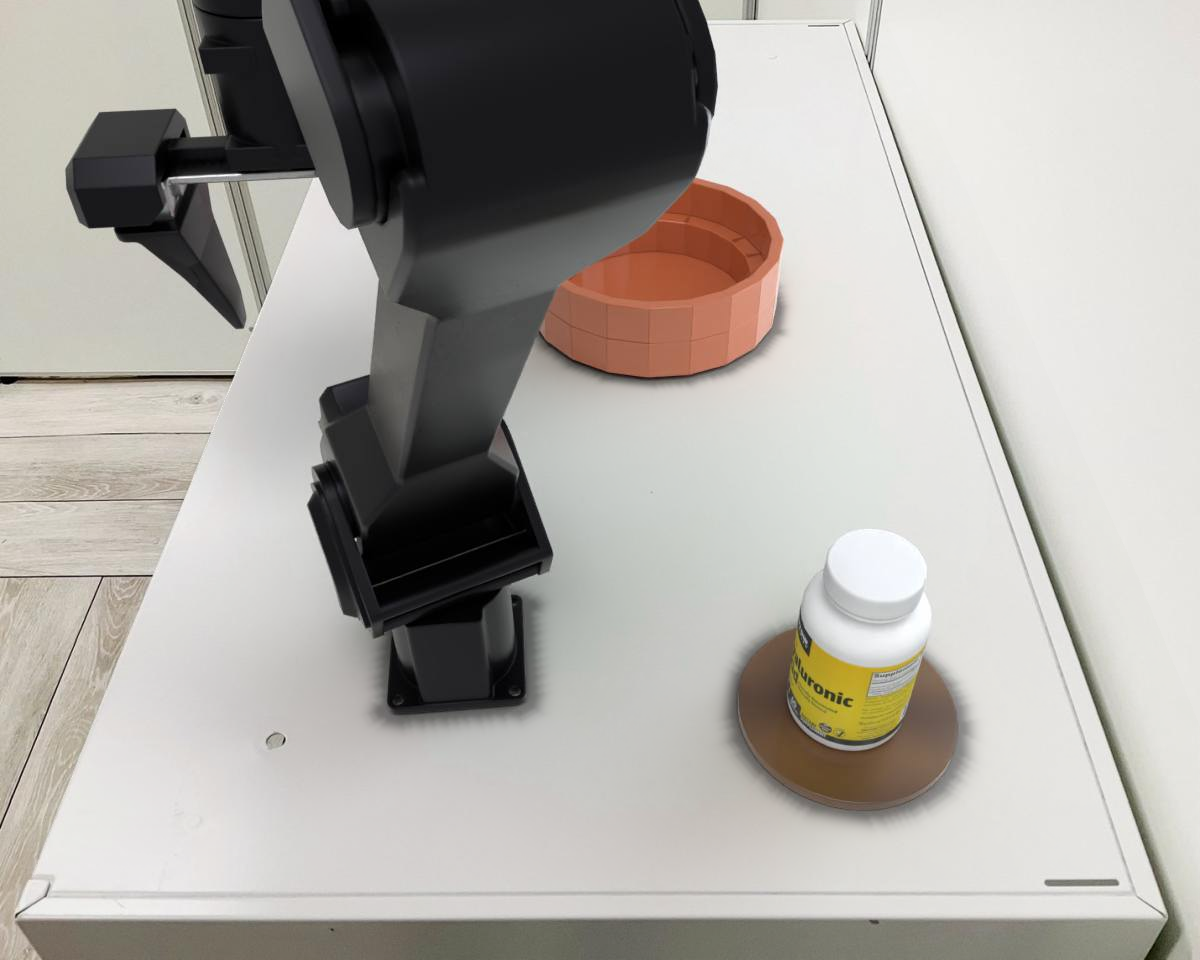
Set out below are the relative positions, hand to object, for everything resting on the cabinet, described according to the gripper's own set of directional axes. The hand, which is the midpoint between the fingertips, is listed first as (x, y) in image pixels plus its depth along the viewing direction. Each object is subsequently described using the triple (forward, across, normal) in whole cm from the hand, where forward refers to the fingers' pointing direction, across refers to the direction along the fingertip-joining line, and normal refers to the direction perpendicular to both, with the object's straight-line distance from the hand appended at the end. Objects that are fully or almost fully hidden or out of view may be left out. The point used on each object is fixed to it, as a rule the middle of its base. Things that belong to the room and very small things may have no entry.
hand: (336, 318), depth 54 cm
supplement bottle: (+12, -23, +17) cm, 31 cm away
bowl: (+12, -18, -17) cm, 27 cm away
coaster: (+12, -23, +17) cm, 31 cm away
